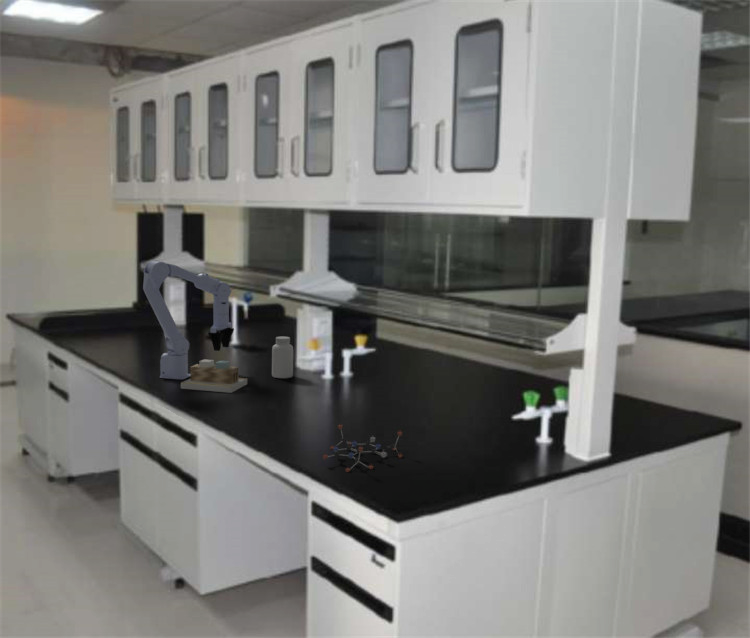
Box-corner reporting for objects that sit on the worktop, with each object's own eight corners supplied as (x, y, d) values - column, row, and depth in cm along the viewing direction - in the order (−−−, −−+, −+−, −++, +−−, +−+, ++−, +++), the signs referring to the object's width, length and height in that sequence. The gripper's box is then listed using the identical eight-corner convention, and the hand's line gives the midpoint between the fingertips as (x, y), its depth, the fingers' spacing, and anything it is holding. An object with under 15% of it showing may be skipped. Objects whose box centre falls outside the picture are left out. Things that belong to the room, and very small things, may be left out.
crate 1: (199, 366, 284) (199, 361, 284) (204, 364, 288) (204, 359, 288) (209, 367, 284) (209, 362, 283) (214, 365, 287) (213, 360, 287)
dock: (180, 388, 281) (180, 382, 281) (198, 380, 295) (198, 374, 295) (231, 392, 277) (231, 386, 277) (247, 384, 290) (247, 378, 290)
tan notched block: (190, 380, 285) (190, 366, 284) (197, 377, 290) (196, 364, 289) (232, 383, 281) (232, 369, 281) (238, 380, 286) (238, 367, 285)
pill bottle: (289, 379, 299) (289, 339, 297) (268, 378, 301) (269, 338, 299) (295, 375, 307) (296, 336, 305) (275, 373, 309) (275, 335, 306)
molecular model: (416, 458, 212) (366, 440, 227) (417, 431, 211) (366, 415, 226) (347, 477, 196) (298, 456, 211) (348, 448, 195) (298, 430, 210)
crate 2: (215, 368, 283) (215, 362, 283) (219, 366, 287) (219, 360, 286) (225, 368, 282) (225, 363, 282) (229, 366, 286) (229, 361, 285)
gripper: (222, 316, 296) (223, 352, 298) (238, 311, 310) (238, 346, 312) (205, 315, 298) (205, 351, 300) (221, 310, 312) (222, 345, 314)
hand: (221, 348), depth 306 cm, fingers open, 7 cm apart
